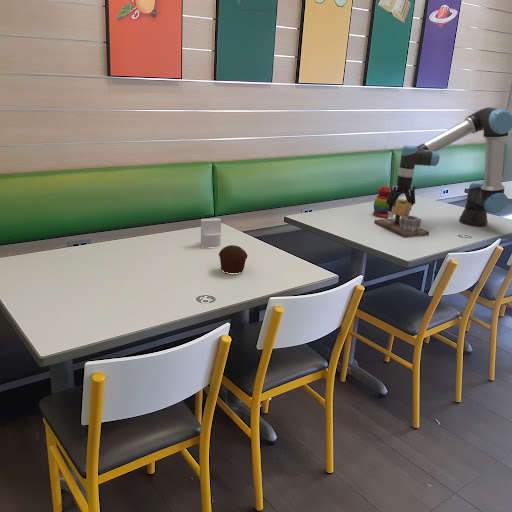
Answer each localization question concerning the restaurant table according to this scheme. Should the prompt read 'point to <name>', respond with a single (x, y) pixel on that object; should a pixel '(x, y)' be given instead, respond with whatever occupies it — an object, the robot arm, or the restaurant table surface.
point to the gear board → (396, 228)
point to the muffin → (232, 259)
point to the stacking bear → (382, 202)
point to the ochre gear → (401, 207)
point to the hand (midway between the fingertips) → (398, 217)
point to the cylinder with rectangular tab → (211, 232)
